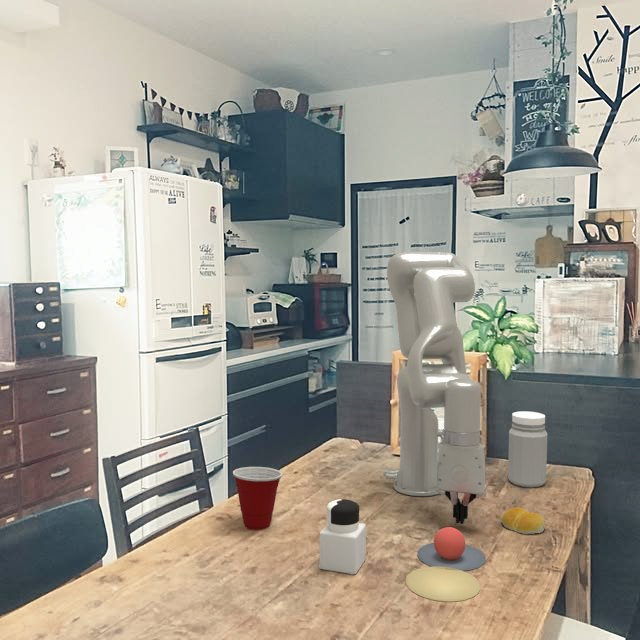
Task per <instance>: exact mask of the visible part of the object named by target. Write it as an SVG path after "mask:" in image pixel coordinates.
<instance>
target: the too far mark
mask: <svg viewBox="0 0 640 640" xmlns="http://www.w3.org/2000/svg"><path fill="white" fill-rule="evenodd" d="M442 568H444V569H442ZM446 568H447V567H439V566H434V567H431V566H426V567H421V568H417V569H414V570H413V571H412V570H411V572H410V573H408V574H407V576H406V577H405V583H406V584H405V585H406V587H407V588H408V589H409V591H411V592H412V593H414V594H415V595H417V596H419V597H421V598H424V599H427V600H431V601H436V602H446V603H448V602H449V603H455V602H463V601H467V600H470V599H472V598H474V597H476V596H477V595H478V594H479V593H480V591H481V584H480V582H479V579H477V578H476V577H475V576H474V575H473V574H470V573H469V572H468V571H461V570H458V569H454V568H449V567H448V568H447V569H446ZM448 569H450V570H448ZM451 569H452V570H451Z"/></svg>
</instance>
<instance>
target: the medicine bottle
mask: <svg viewBox="0 0 640 640" xmlns="http://www.w3.org/2000/svg"><path fill="white" fill-rule="evenodd" d="M366 535H367V525H366V523H363V522H362V523H361V522H360V505H359V503H357V502H356V501H354V500H351V499H345V498H340V499H334V500H332V501H329V503H328V504H327V506H326V525H325V526H324V527H323V528H322V529H321V531H320V532H319V549H318V551H319V553H318V554H319V559H318V561H319V564H318V565H319V569H320V570H323V571H330V572H337V573H343V574H350V575H356V574H357V573H358V571H359V570H360V568H361V567H362V565H363V564H364V563H365V561H366V559H367V556H366V555H367V554H366V553H367V551H366V550H367V545H366V544H367V536H366Z"/></svg>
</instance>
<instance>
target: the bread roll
mask: <svg viewBox="0 0 640 640" xmlns="http://www.w3.org/2000/svg"><path fill="white" fill-rule="evenodd" d="M500 521H501V523H502V525H503V526H504V528H506V529H508V528H509V529H508V530H510V529H511V531H513V530H514V531H515V532H516V533H518V532H519V534H521V533H522V535H536V534H535V533H539V534H541V533H543V531H544V530H545V526H546V522H545V519H544V518H543V516H542V515H540V514H539V513H536V512H529V511H528V510H526V509H525V508H522V507H519V506H516V507H511V508H509V509H507V510H506V511H504V512H503V514H501V516H500ZM514 531H513V532H514Z"/></svg>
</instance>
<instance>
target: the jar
mask: <svg viewBox="0 0 640 640" xmlns="http://www.w3.org/2000/svg"><path fill="white" fill-rule="evenodd" d="M511 414H512V415H511V421H512V423H511V428H510V429H509V431H508V461H507V462H508V463H507V464H508V465H507V466H508V467H507V479H508V481H510V483H512V484H513V485H515V486H519V487H521V488H522V487H523V488H539V487H542V486H543V485H544V484H546V482H547V462H548V459H547V458H548V432H547V431H546V415H545V414H544V413H540V412H537V411H526V410H524V411H523V410H522V411H521V410H520V411H516V412H512V413H511Z"/></svg>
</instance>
